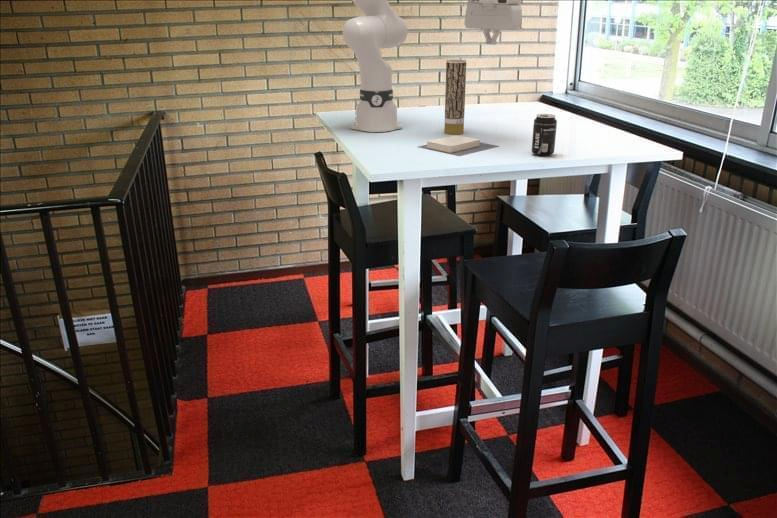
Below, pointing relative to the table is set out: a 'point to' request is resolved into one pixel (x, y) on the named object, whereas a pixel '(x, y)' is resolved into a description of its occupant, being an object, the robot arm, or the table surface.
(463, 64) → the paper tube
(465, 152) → the mat
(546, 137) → the beverage can
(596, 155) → the table surface
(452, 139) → the tile
